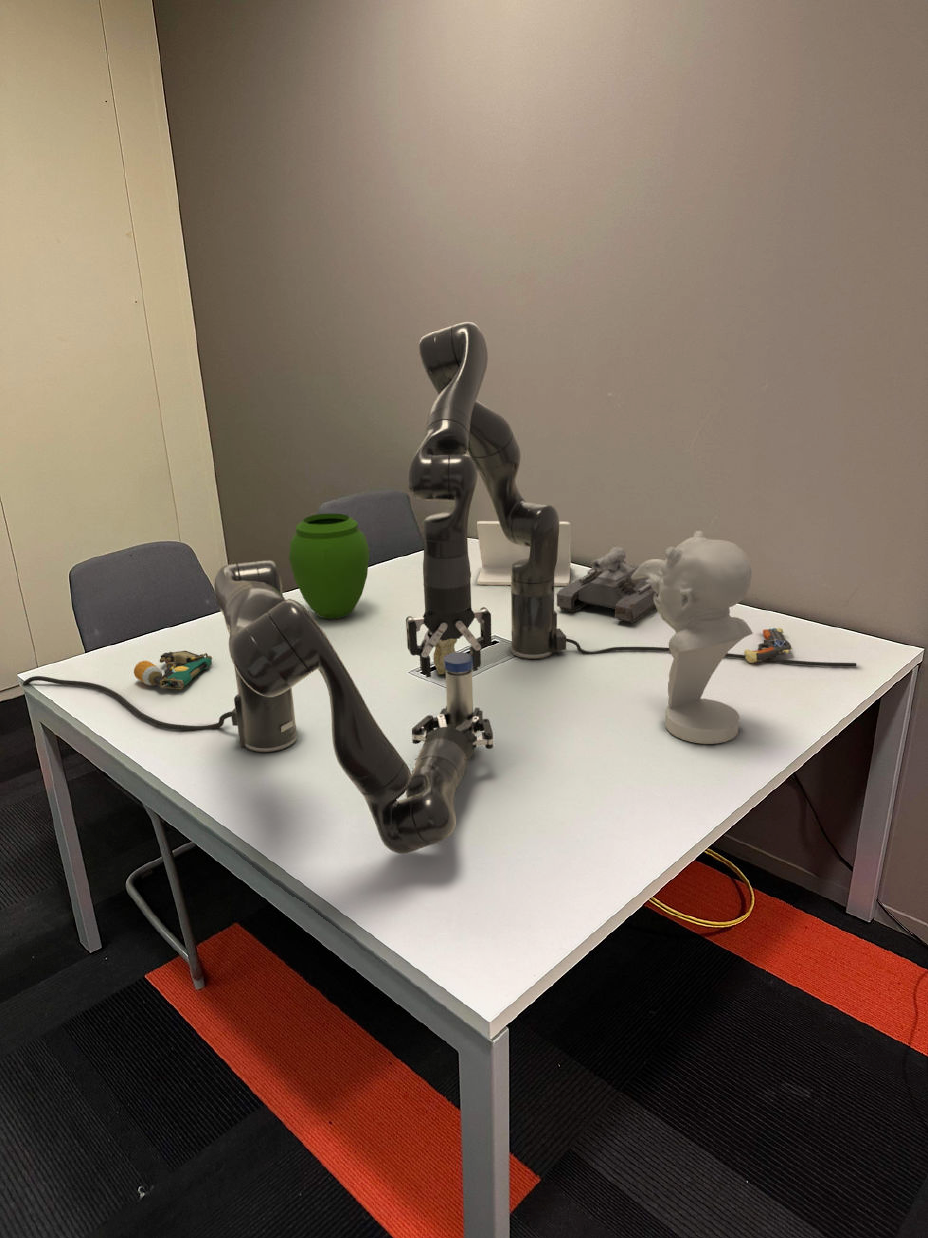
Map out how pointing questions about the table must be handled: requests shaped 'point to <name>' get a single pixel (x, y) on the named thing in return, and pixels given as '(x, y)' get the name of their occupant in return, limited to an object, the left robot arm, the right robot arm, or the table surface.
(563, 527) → the tablet stand
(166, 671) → the spray gun
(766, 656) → the toy gun
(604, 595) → the toy
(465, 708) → the jar
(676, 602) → the bust sculpture
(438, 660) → the sculpture
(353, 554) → the vase
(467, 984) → the table surface
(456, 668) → the lid
